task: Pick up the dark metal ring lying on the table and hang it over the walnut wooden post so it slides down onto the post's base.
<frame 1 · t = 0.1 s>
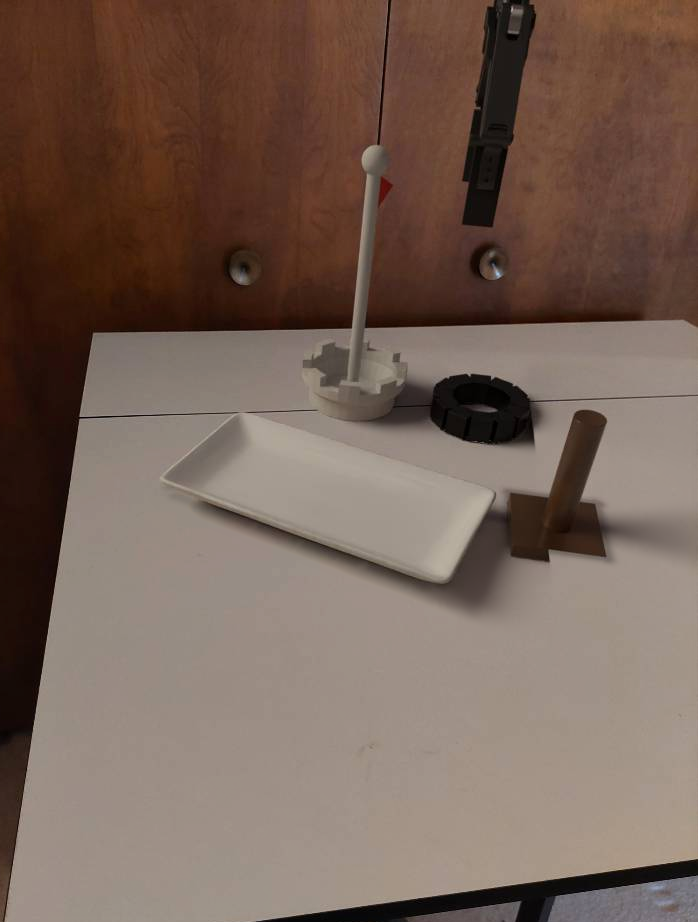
hand: (476, 202, 76), 28 cm above the table, tool pointing down, fingers open, 13 cm apart
post: (552, 534, 83), on the table
ring: (477, 417, 100), on the table
tray: (326, 511, 85), on the table
flag stand: (351, 399, 103), on the table
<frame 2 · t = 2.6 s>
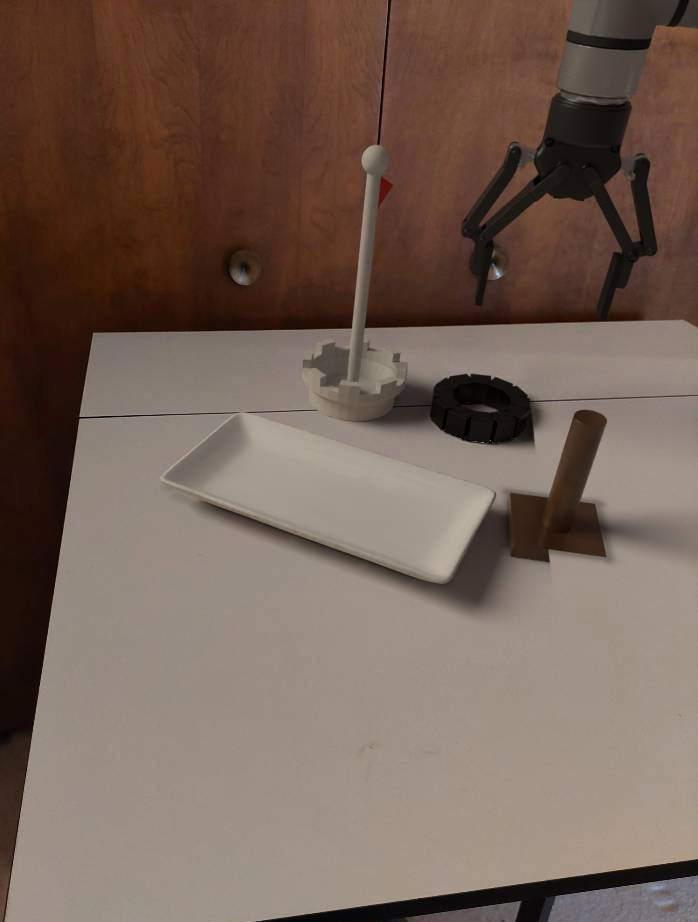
hand: (539, 308, 90), 15 cm above the table, tool pointing down, fingers open, 13 cm apart
nothing on the table moved.
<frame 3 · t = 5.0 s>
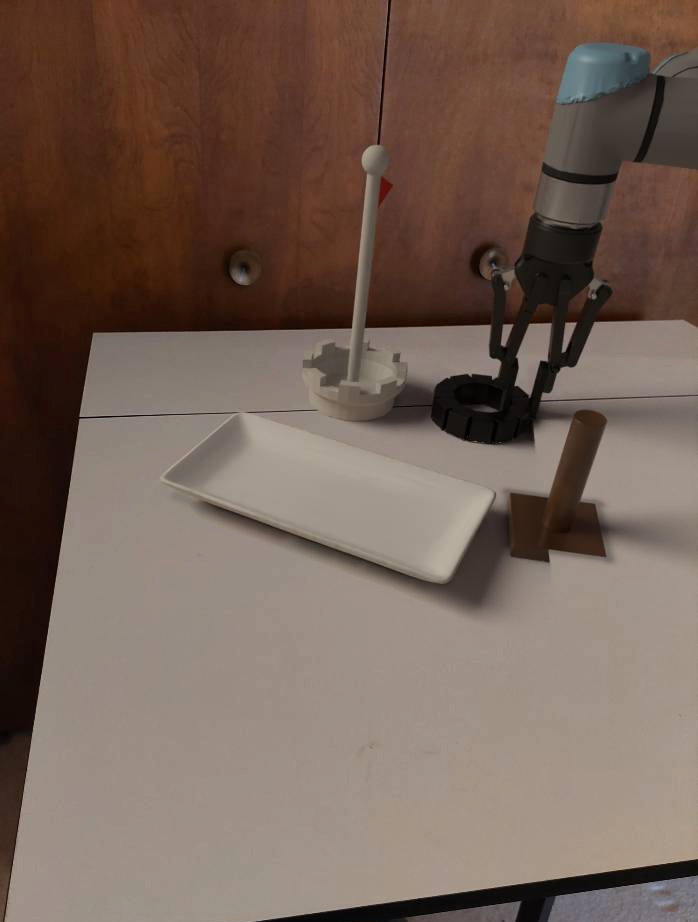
hand: (517, 411, 99), 2 cm above the table, tool pointing down, fingers closed on ring, 3 cm apart
ring: (478, 418, 100), on the table, touching gripper
everything else where it was.
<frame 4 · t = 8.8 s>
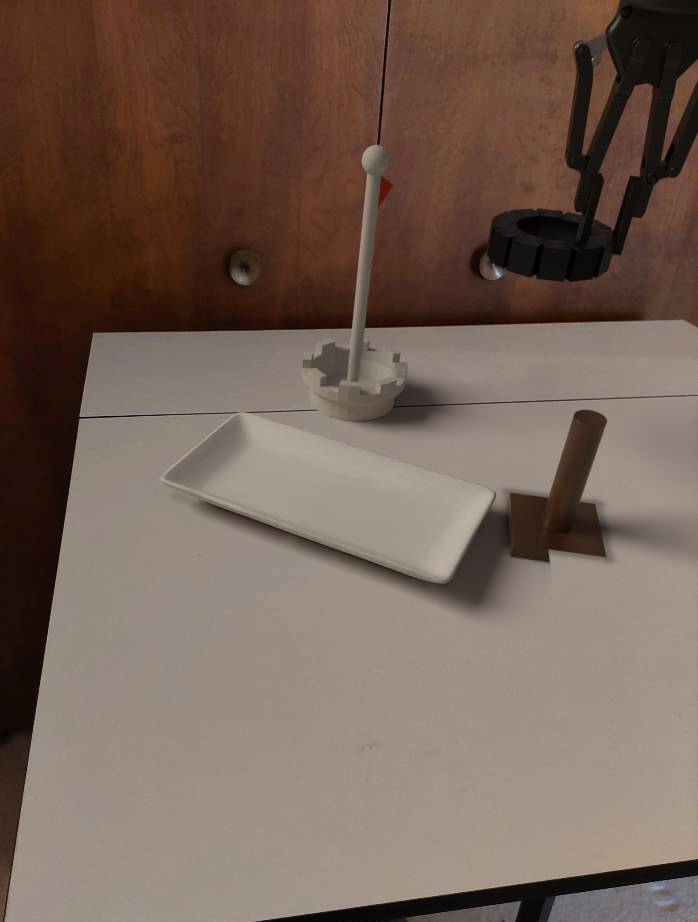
hand: (597, 247, 78), 25 cm above the table, tool pointing down, fingers closed on ring, 3 cm apart
ring: (546, 258, 80), point 23 cm above the table, touching gripper
everything else where it was.
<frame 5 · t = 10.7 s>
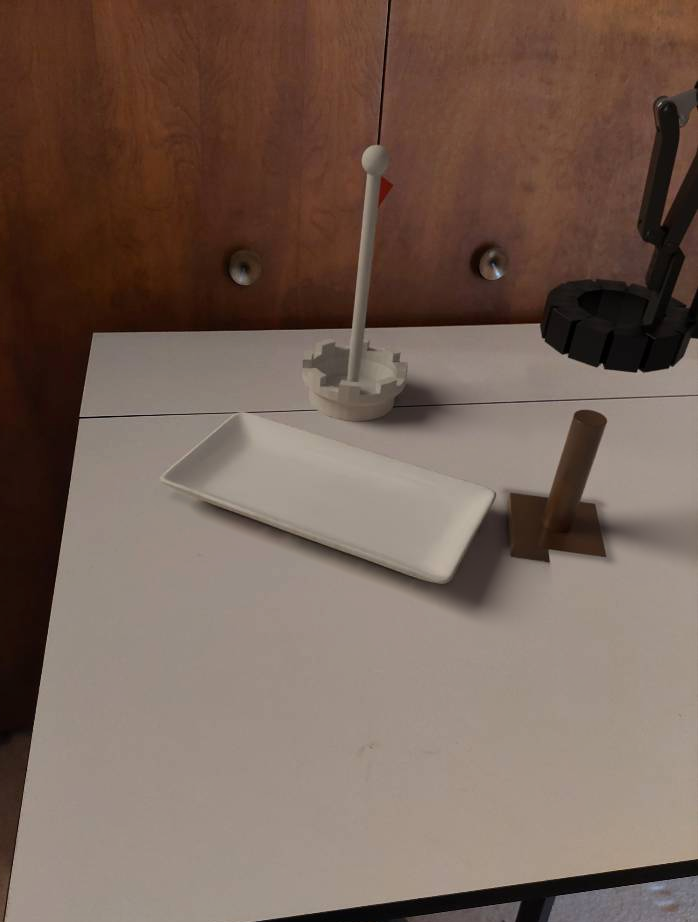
hand: (670, 328, 68), 23 cm above the table, tool pointing down, fingers closed on ring, 3 cm apart
ring: (610, 339, 69), point 22 cm above the table, touching gripper
everything else where it was.
when the fingers open (18 cm above the table, at t = 12.6 s): ring drops 14 cm, resting on post.
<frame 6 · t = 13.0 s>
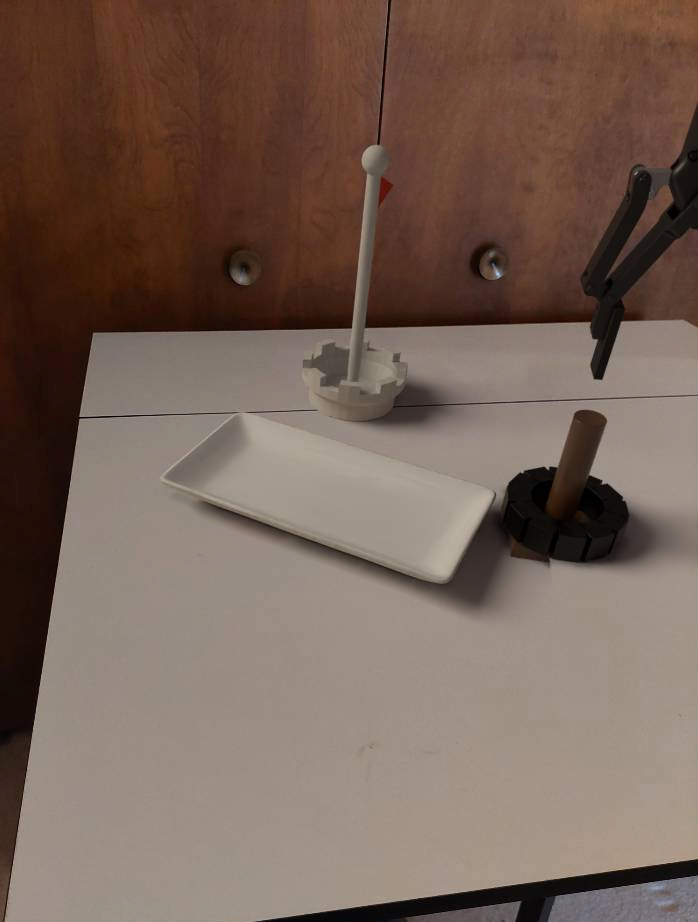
hand: (653, 379, 71), 19 cm above the table, tool pointing down, fingers open, 9 cm apart
ring: (559, 523, 82), point 1 cm above the table, touching post
everything else where it was.
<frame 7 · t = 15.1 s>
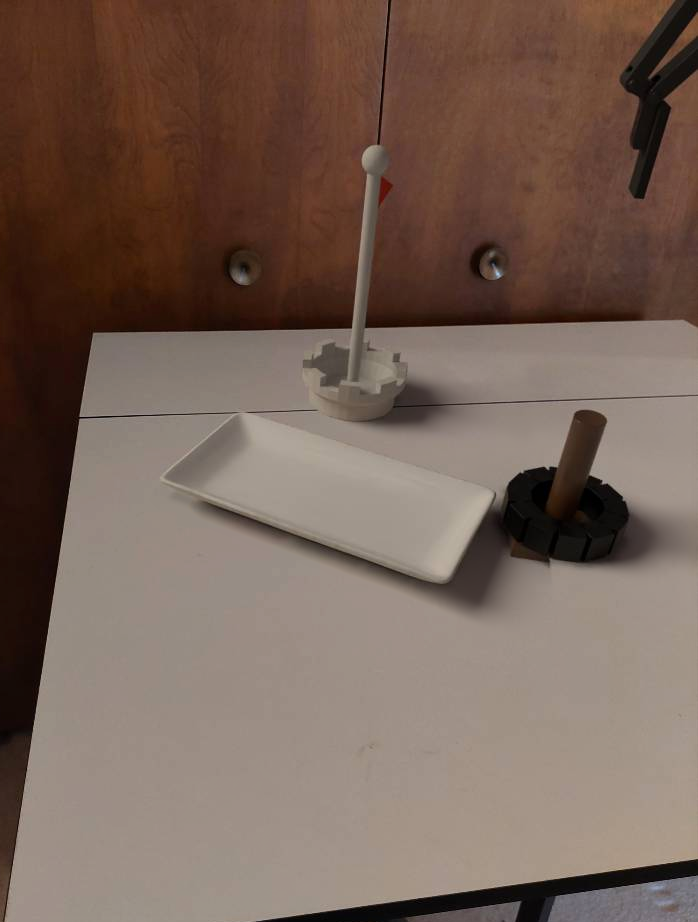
nothing on the table moved.
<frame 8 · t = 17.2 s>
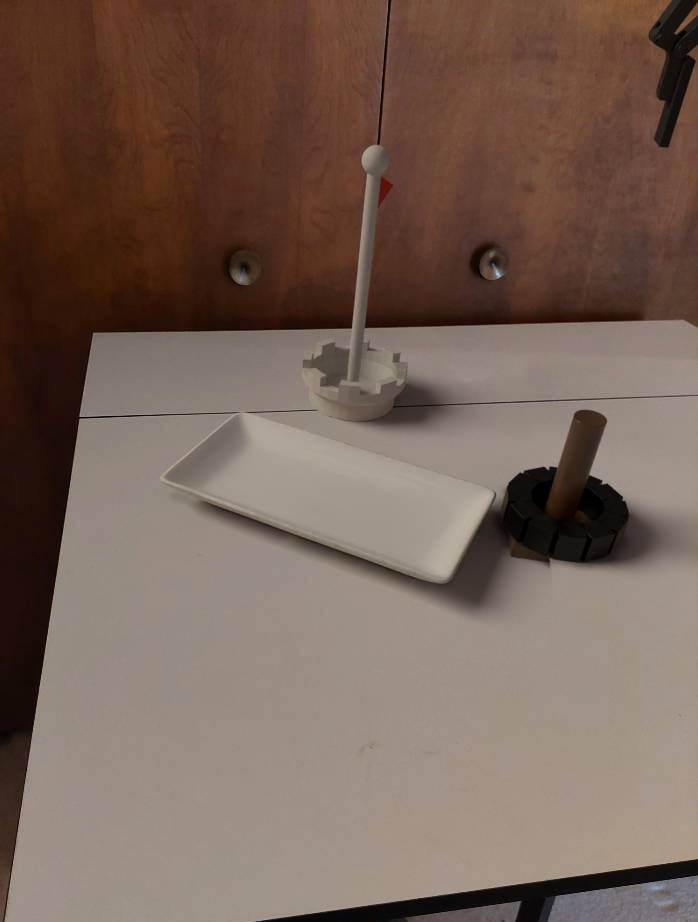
nothing on the table moved.
at the end: ring 0.3 cm from the post (horizontally); ring point 1.5 cm above the table; the gripper is holding nothing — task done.
